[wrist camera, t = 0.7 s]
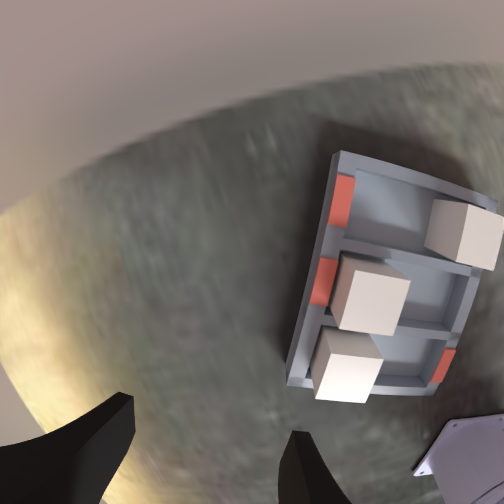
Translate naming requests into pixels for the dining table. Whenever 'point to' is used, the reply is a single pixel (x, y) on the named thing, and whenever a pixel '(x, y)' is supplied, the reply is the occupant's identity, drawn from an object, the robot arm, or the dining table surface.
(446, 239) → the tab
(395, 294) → the tab mid
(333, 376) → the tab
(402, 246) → the switch bank
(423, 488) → the dining table surface
